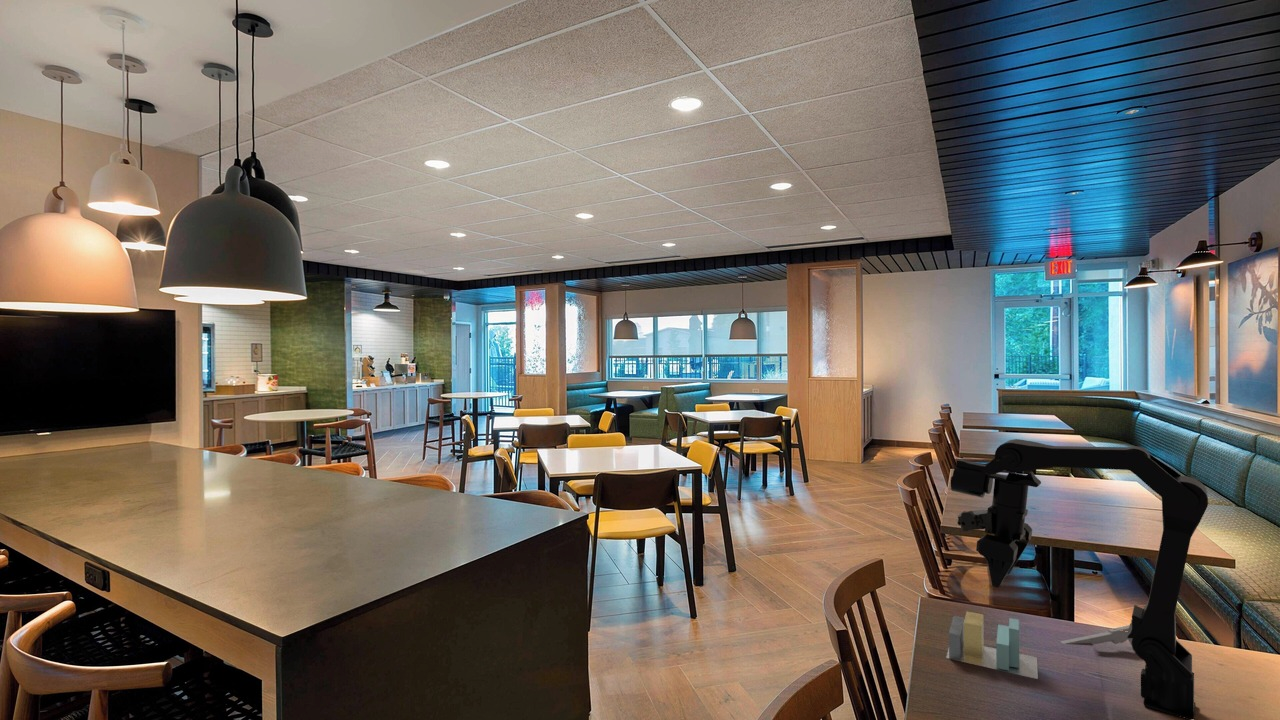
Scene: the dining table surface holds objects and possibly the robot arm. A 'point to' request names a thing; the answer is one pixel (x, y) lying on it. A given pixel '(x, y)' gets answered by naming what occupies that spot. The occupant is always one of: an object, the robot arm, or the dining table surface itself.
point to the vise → (986, 653)
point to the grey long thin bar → (1103, 637)
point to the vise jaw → (1008, 645)
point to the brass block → (973, 636)
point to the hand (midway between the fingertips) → (1000, 579)
